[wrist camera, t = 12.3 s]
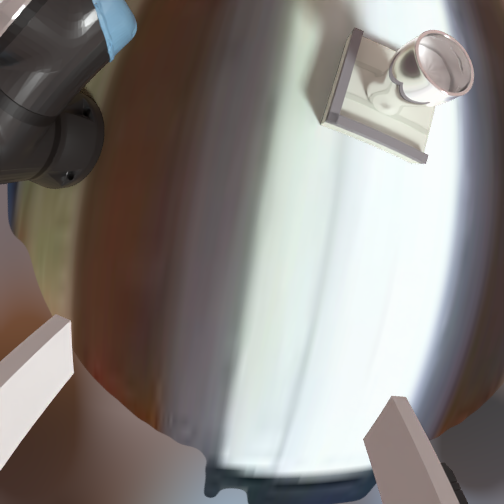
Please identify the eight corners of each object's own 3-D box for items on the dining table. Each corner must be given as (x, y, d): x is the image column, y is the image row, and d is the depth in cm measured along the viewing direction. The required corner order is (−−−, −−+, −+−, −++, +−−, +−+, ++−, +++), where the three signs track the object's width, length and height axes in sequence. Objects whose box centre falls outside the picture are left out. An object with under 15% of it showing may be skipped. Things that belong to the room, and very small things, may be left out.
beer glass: (417, 88, 33) (481, 59, 18) (400, 129, 35) (466, 113, 20) (373, 60, 32) (424, 14, 18) (354, 101, 34) (403, 67, 20)
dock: (320, 125, 38) (327, 119, 34) (346, 40, 35) (354, 27, 30) (411, 163, 39) (425, 163, 34) (431, 80, 35) (446, 73, 31)
